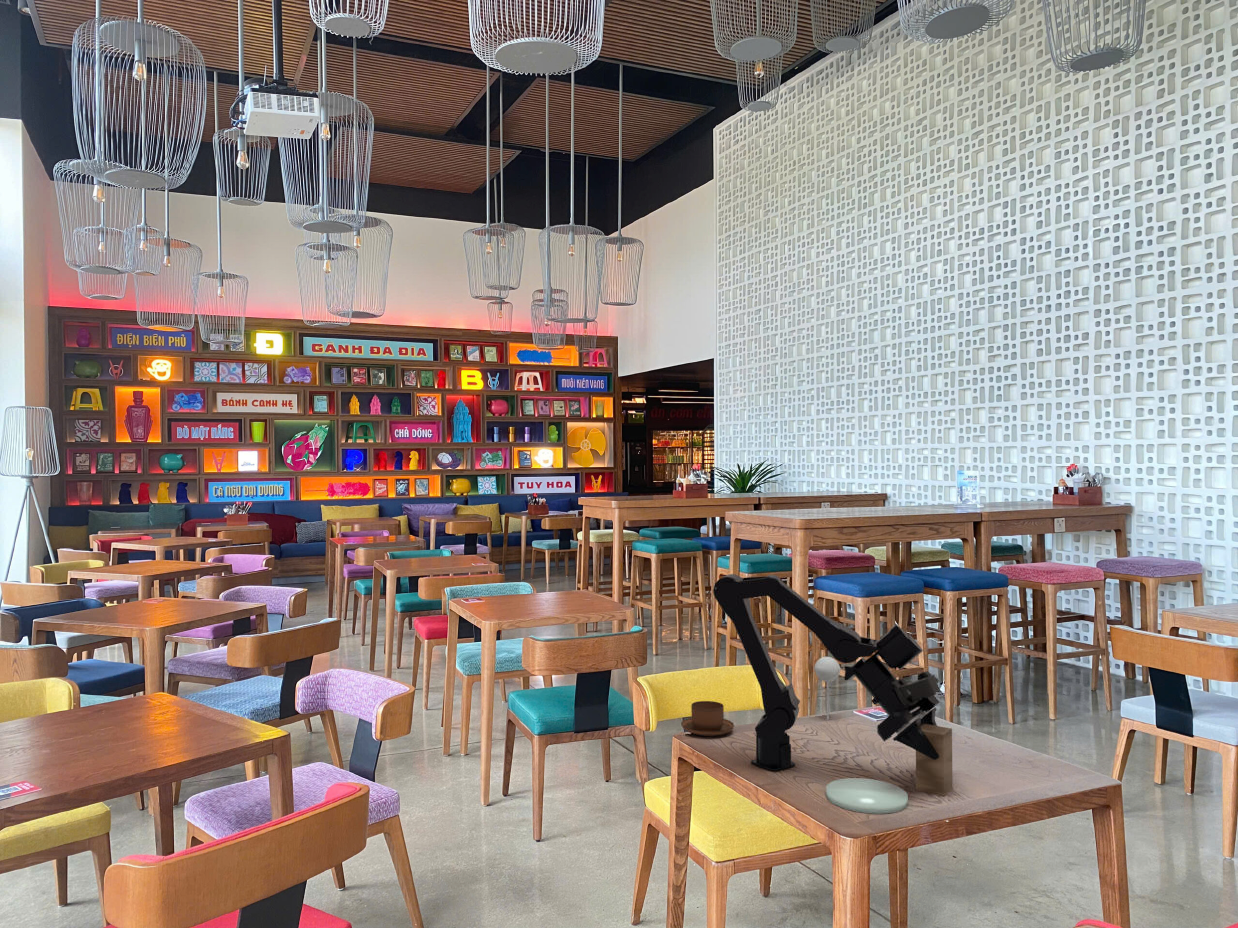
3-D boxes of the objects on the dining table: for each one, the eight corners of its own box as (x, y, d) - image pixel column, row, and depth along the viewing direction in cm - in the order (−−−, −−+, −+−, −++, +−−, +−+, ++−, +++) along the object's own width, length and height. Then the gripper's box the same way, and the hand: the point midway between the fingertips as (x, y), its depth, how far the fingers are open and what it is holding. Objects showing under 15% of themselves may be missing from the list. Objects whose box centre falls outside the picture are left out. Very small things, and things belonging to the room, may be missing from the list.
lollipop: (822, 723, 195) (821, 659, 195) (810, 717, 201) (809, 655, 201) (845, 721, 197) (845, 658, 197) (832, 715, 202) (832, 653, 203)
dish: (809, 795, 149) (809, 788, 149) (858, 779, 157) (858, 772, 157) (875, 820, 138) (875, 812, 138) (924, 801, 146) (924, 794, 146)
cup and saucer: (671, 728, 192) (671, 701, 192) (716, 722, 197) (716, 696, 197) (698, 742, 181) (698, 714, 181) (744, 735, 186) (744, 708, 186)
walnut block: (916, 789, 152) (915, 729, 152) (925, 782, 156) (924, 723, 156) (944, 796, 149) (943, 734, 149) (952, 788, 153) (951, 728, 153)
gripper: (893, 667, 148) (958, 741, 141) (928, 651, 163) (988, 717, 156) (851, 704, 153) (912, 777, 146) (889, 685, 167) (945, 751, 160)
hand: (941, 754), depth 152 cm, fingers closed on walnut block, 5 cm apart
